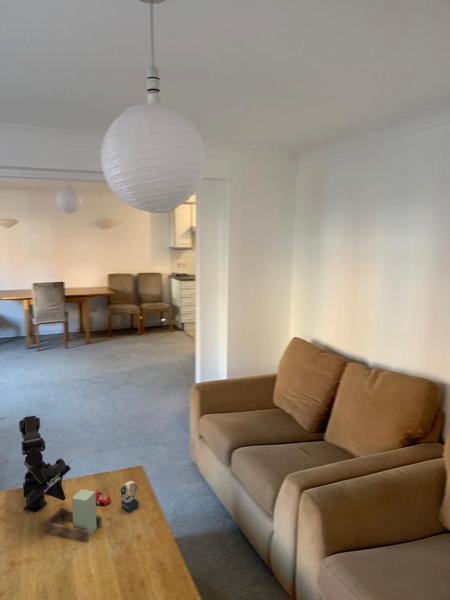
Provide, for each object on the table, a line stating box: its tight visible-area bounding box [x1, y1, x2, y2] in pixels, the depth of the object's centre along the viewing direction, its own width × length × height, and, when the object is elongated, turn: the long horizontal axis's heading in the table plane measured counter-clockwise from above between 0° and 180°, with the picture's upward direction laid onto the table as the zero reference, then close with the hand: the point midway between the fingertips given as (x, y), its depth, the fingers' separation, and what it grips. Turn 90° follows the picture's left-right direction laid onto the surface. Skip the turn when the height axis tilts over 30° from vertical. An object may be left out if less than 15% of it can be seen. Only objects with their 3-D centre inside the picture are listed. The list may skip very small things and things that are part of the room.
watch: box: [118, 480, 139, 513], centre depth 176 cm, size 6×8×11 cm
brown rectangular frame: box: [44, 507, 103, 543], centre depth 163 cm, size 18×10×4 cm, turn 74°
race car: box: [93, 490, 112, 507], centre depth 181 cm, size 13×5×4 cm, turn 77°
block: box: [71, 488, 98, 537], centre depth 161 cm, size 6×6×15 cm
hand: (64, 499), depth 163 cm, fingers closed
